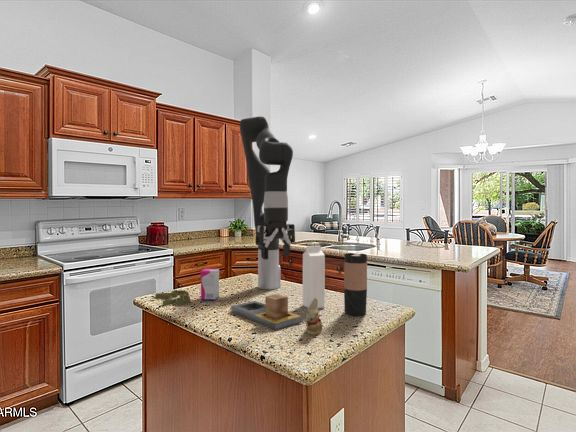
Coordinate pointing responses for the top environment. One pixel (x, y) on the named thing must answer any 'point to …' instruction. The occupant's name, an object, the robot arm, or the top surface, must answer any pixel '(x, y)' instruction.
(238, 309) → the gray slotted board
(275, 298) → the block
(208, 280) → the supplement box
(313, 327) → the chocolate bunny
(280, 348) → the top surface
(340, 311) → the top surface
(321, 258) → the milk
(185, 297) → the cookie cutter
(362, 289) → the travel mug
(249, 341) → the top surface
